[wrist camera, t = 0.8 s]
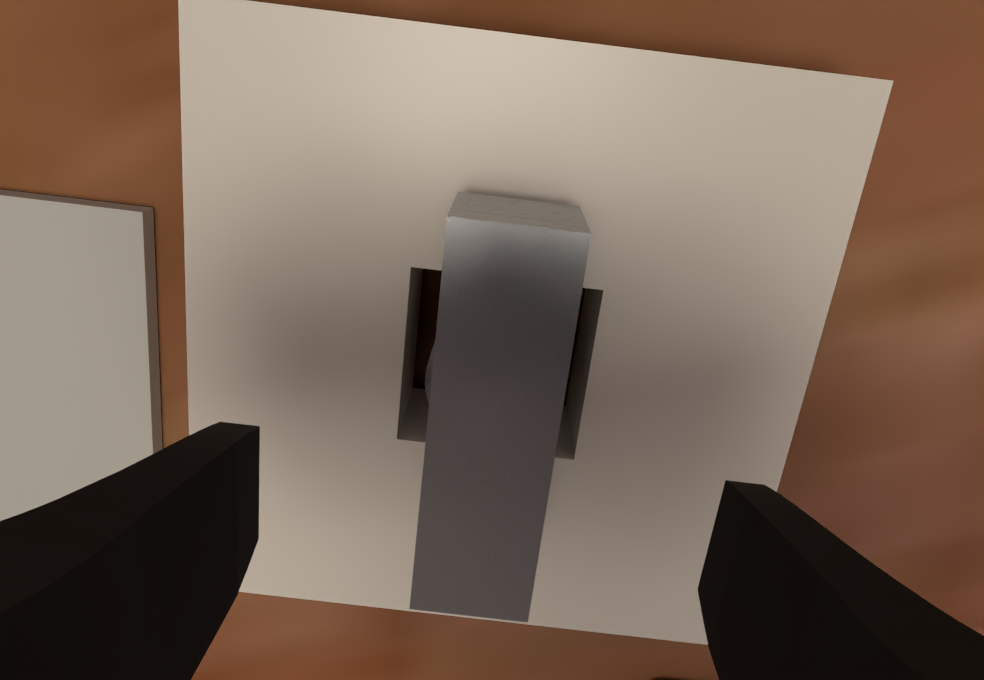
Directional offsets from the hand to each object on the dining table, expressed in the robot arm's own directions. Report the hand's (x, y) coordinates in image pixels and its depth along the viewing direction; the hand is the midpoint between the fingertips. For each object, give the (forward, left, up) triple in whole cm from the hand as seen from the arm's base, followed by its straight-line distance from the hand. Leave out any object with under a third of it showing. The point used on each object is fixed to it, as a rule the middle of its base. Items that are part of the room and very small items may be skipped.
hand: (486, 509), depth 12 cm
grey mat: (-3, +14, -9) cm, 17 cm away
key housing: (0, 0, -9) cm, 9 cm away
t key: (0, 0, -9) cm, 9 cm away
